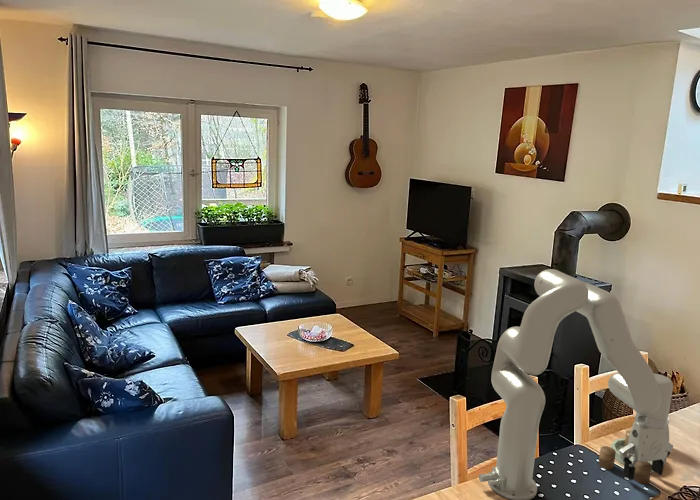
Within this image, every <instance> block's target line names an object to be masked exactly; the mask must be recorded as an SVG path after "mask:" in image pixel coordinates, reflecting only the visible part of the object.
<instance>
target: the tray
mask: <svg viewBox="0 0 700 500" xmlns="http://www.w3.org/2000/svg"><path fill="white" fill-rule="evenodd" d="M630 432H631V430H626V431H625V436H624V438H617V439H614V441H612V442H611V444H610V447H611V448H613V449H614V450H615V451H616V454H615V461H617V462H618V463H620V464H621V465H622V466H624V464H625V462H624V461H623V460H622V459H621V456H620V453H619V451H620V450H621V449H622V448H624V447H625V446H627V445H628V440H629V436H630ZM634 455H635V454H634ZM633 458H634V457H631V458H630V461H632V460H633ZM647 462H649V463H650V464H651V465H652V461H647ZM663 463H664V466H665V464H666V462H663ZM664 466H663V468H664ZM634 467H635V465H634ZM652 473H655V472H654V471H653V470H652V469H651V474H652Z"/></svg>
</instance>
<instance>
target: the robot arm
mask: <svg viewBox="0 0 700 500" xmlns="http://www.w3.org/2000/svg"><path fill="white" fill-rule="evenodd" d="M534 290H535V292H536V294H537V295H538V297H537V298H536V299H535V300H533V301H532V302H531V303H530V304H528V306H527V308H526V310H525V311H524V313H523V316H522V319H521V323H520V326H511V327H509V328H507V329H505V331H504V332H503V333H502V334H501V336H500V337H499V340H498V341H497V346H496V352H495V356H494V361H493V366H492V369H491V381H490V382H491V384H492V388H493V389H494V391H495V392H496V393H497V394H498V396H500V398H501V399H502V401H503V402H504V403H505V405H506V407H505V410H504V412H503V414H502V416H501V420H500V426H499V435H498V436H499V437H498V443H497V444H498V446H497V453H496V463H495V466H493V467H492V468H491V469H492V470H491V471H489V472H488V473H479V475H478V480H479V482H480V483H484V482H487V484H488V486H489V487H490V488H491V489H492V491H494V492H495V493H496V494H498V495H500V496H501V497H503V498H505V499H509V500H532V499H533V498H535V496H537V493H538V485H537V483H536V481H535V480H534V479H533V477H534V475H533V474H534V469H535V468H534V467H535V459H536V452H537V443H538V442H537V441H538V432H539V427H540V422H541V417H542V415H543V412H544V409H545V405H546V395H545V392H544V390H543V388H542V387H541V385H540V384H539V383H538V382H537V381H536V380H535V379H534V378H533V377H531V376H538V375H541V374H542V373H544V372H545V370H546V368H547V367H548V365H549V361H550V357H551V353H552V348H553V344H554V339H555V335H556V332H557V330H558V329H557V328H558V327H559V324H560V323H561V321H563V320H564V319H565V318H566V317H567V316H569V315H570V314H572V313H575V312H577V313H579V314H581V316H584V317H585V318H587V321H588V323H589V327H590V328H591V332H592V334H593V337H594V341H595V343H596V346H597V349H598V351H599V353H601V355H602V357H603V358H604V359H605V360H606V361H607V362H608V363H609V364H610V366H612V367H613V368H614V370H616V373H613V374H611V376H610V377H609V379H608V381H607V386H608V389H609V391H610V392H611V394H612V395H614V396H615V397H616V398H617V399H618V400H620V401H621V402H623V403H624V404H626V405H627V406H628V407H630V408H631V409H632V410H633V411H635V412H636V413H635V416H634V418H633V419H634V421H633V423H632V426H631V430H630V431H631V432H630V436H629V440H628V445H627V446H625V447H624V448H622V449H621V450H620V451H619V453H620V456H621V459H622V460H623V461H624V462H625V464H624V465H623V475H624V476H626V478H628V479H629V480H630V481H633V480H634V474H635V467H634V465H635V464H636V463H637V461H639V462H647V461H652V470H653V471H654V473H656V474H657V475H658V476H662V475H663V471H664V467H663V466H665V464H664V463H663V462H665V463H666V462H667V458H669V456H670V454H671V451H672V450H673V448H674V445H673V444H672V443H670V428H669V425H668V424H667V421H668V416H669V413H670V408H671V402H672V396H673V390H674V383H673V381H672V379H671V378H669V377H668V376H666V375H662V374H658V373H654V371H653V369H652V368H651V367H650V365H649V364H648V362H647V360H646V359H645V358H644V356H643V355H642V354H641V351H640V350H639V348H638V346H636V343H634V341H633V339H632V335H631V332H630V330H629V327H628V324H627V320H626V317H625V314H624V311H623V308H622V305H621V303H620V300H619V299H618V298H617V297H616V295H614V294H613V293H611V292H609V291H607V290H605V289H602V288H600V287H598V286H596V285H594V284H591V283H588V282H586V281H583V280H581V279H578V278H576V277H574V276H571V275H568V274H566V273H564V272H562V271H560V270H558V269H553V268H552V269H551V268H549V269H544V270H541V272H539V273H538V274H537V276H536V277H535V280H534ZM634 454H635V455H634ZM631 457H634V458H633V460H632V461H630V458H631Z"/></svg>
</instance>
